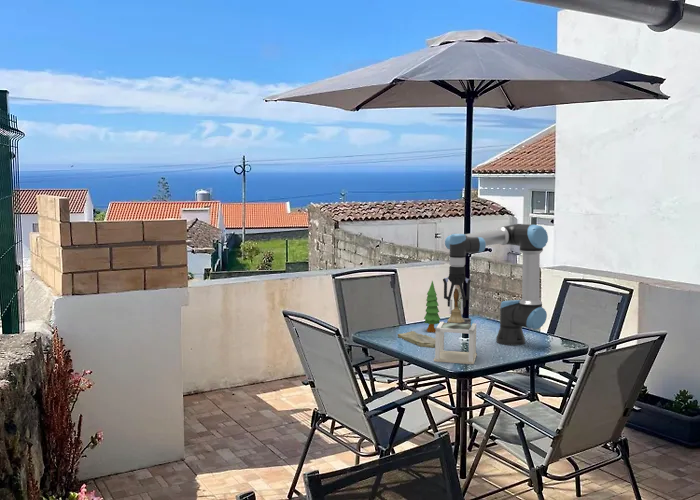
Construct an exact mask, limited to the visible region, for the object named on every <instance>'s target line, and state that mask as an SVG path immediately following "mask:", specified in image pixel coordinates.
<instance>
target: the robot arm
mask: <svg viewBox="0 0 700 500" xmlns="http://www.w3.org/2000/svg"><path fill="white" fill-rule="evenodd" d="M548 242H549V236H548V232H547V230H546V229H545V227H544V226H541V225H539V224H538V225H537V224H530V223H529V224H528V223H514V224H510V225H504V226H500V227H498V228H497V229H493V230H483V231H479V232H471V233H451V234H450V235H448V236H446V237H445V240H444V246H445V248H446V249H447V250H449V267H448V268H449V270H448V271H449V272H448V273H449V274H448V276H447V277H444V278H443V279H442V282H443V299H444V300H446V301H447V308H448V307H449V314H450V315H451V311H452V310H453V299H451V298H452V295H453V292H454V289H455V288H454V287H455V286H458V287H459V289H460V290H459V291H460V295H461V298H462V299H461V300H460V310H461V315H463V313H464V308H466V301H468V300H470V291H471V289H470V288H471V286H470V284H471V281H472V279H471V278H467V277H466V266H465V265H466V254H475V253H477V254H479V253H482V252H485V250H486V247H487V246H488V247H489V246H494V245H501V246H504V245H510V246H518V247H519V251H520V253H521V254H522V271H521V273H522V276H521V277H522V279H521V280H522V281H521V282H522V284H521V286H522V288H521V289H522V291H521V293H522V295H521V297H522V298H521V299H510V300H503V301H501V302H500V308H499V310H500V311H499V314H500V315H499V322H500V323H499V330H498V331H497V335H496V339H495V341H496V343H498V344H499V345H500V344H501V345H505V346H506V345H507V346H522V345H525V344H526V338H525V335H524V332H523V328H528V329H533V330H538V329H540V328H542V327H543V326H544V324H545V323H546V321H547V317H548V314H547V311H546V309H545V308H544V307H543V302H542V301H541V300H540V270H541V269H540V268H541V267H540V263H541V262H540V261H541V259H540V258H541V257H540V256H541V253H543V251H544V248H545V247H546V246H547V244H548ZM448 282H449V283H451V284H450V288H449V293H448ZM464 282H465V283H466V294H465V289H464V285H463V283H464Z"/></svg>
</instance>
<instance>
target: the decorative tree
mask: <svg viewBox="0 0 700 500" xmlns="http://www.w3.org/2000/svg"><path fill="white" fill-rule="evenodd" d="M426 295H427V297H426V300H425V301H426V303H425V304H426V305H425V307H426V309H425V315H424V318H423V319H424V320H425V321H424V324H428V327H427V328H426V332H427V333H436V327H435V325H438V324H439V323H440V322H441V321H440V320H441V317H440V315H439V313H440V310H439V308H438V306H439V303H438V297H437V296H438V295H437V292H436V289H435V285H434V281H433V280H431V284H430V286H429V289H428V291H427V294H426Z"/></svg>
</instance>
